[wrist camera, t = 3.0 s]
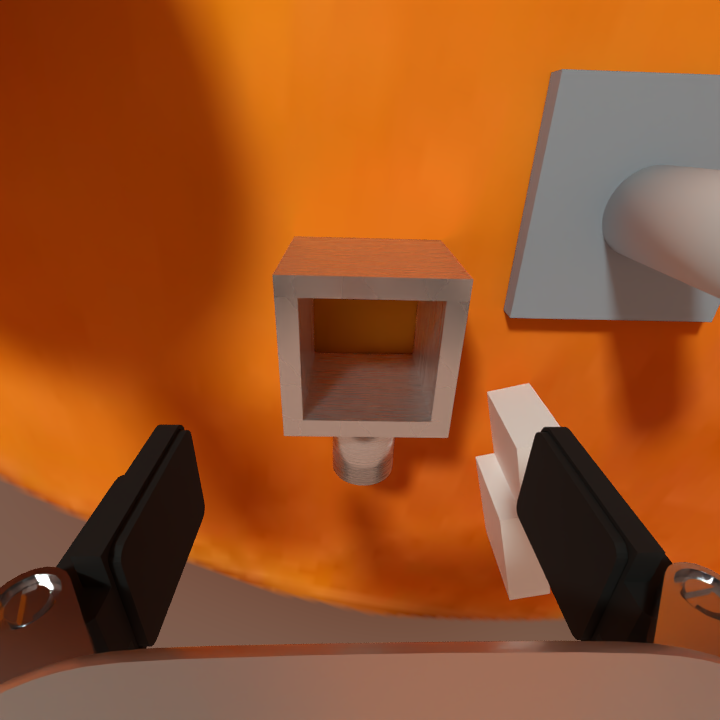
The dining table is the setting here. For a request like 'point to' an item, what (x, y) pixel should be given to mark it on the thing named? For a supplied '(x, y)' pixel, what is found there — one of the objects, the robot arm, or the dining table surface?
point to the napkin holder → (512, 485)
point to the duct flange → (622, 201)
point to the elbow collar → (362, 370)
